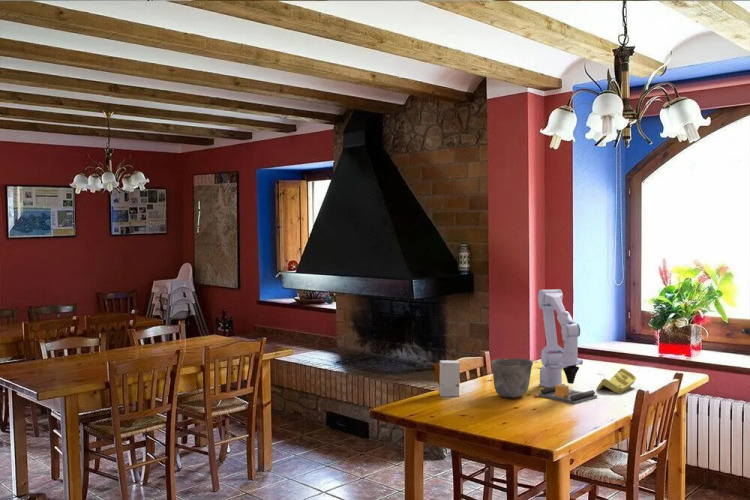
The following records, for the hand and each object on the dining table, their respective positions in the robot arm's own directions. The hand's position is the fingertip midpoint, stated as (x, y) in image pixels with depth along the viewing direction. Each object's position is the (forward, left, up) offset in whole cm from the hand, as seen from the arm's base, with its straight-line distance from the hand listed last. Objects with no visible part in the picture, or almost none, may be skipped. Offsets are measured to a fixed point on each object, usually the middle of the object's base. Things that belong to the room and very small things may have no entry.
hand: (570, 383), depth 297 cm
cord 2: (+8, -3, -4) cm, 9 cm away
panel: (0, -2, -6) cm, 6 cm away
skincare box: (-35, -38, -6) cm, 52 cm away
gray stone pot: (-16, -19, -6) cm, 25 cm away
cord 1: (-7, -3, -4) cm, 9 cm away
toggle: (0, -6, -4) cm, 7 cm away
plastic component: (+5, +28, -6) cm, 29 cm away
